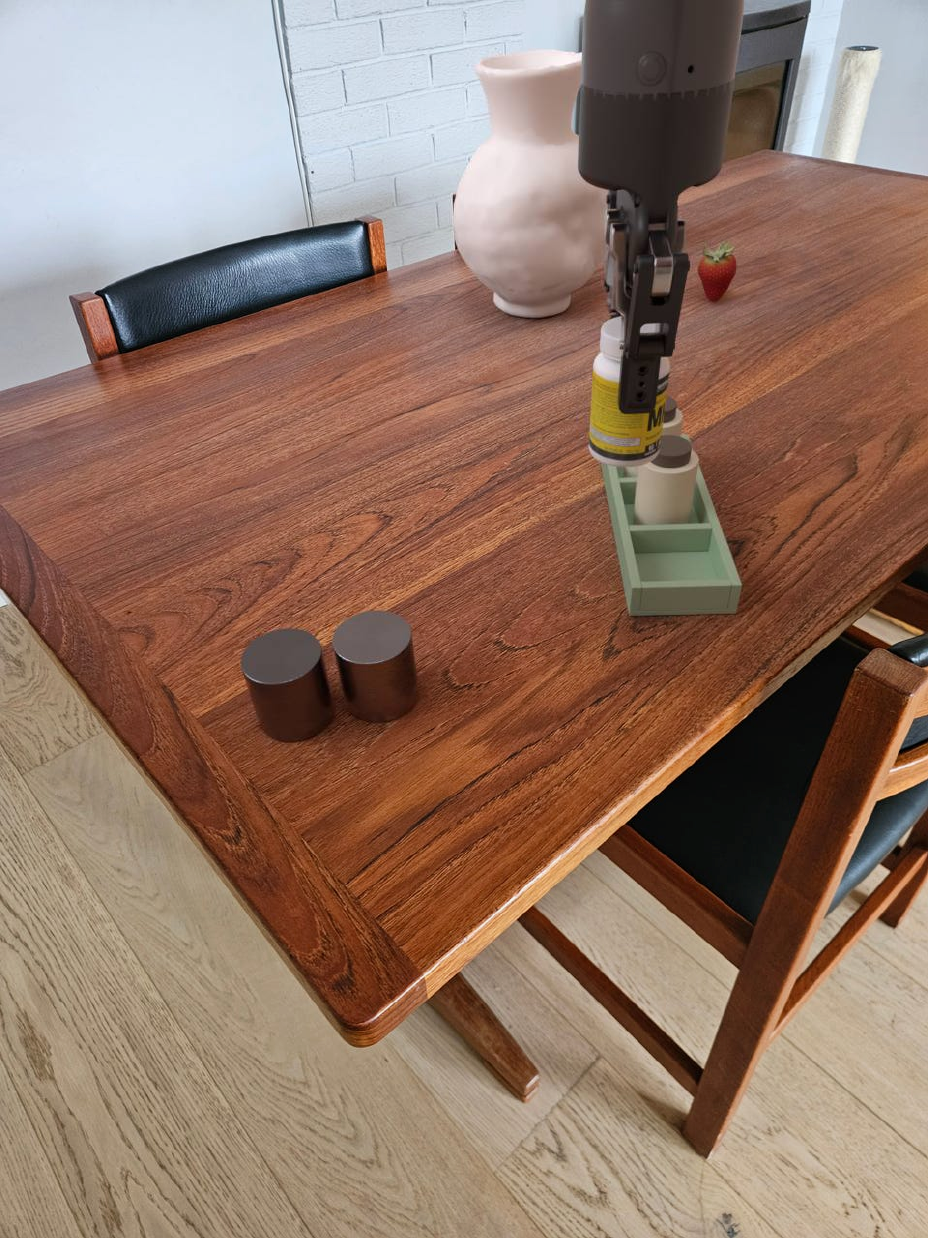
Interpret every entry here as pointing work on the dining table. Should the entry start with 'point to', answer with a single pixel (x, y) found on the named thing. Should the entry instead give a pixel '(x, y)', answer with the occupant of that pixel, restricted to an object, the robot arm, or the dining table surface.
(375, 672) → the grey tin
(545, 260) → the vase
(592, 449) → the supplement bottle
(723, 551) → the rack
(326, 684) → the grey tin
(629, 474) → the cream bottle
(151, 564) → the dining table surface
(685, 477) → the cream bottle
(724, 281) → the fruit
